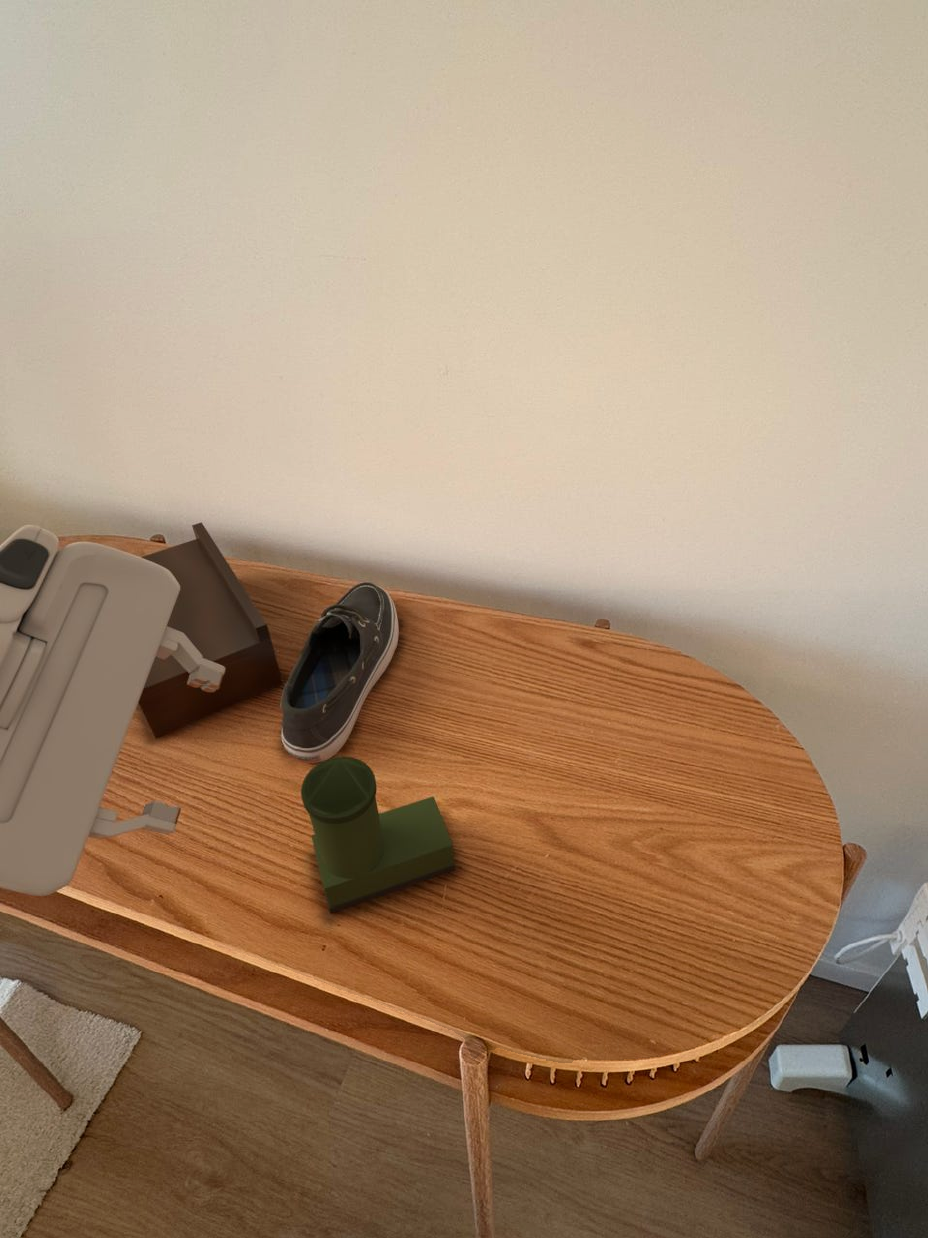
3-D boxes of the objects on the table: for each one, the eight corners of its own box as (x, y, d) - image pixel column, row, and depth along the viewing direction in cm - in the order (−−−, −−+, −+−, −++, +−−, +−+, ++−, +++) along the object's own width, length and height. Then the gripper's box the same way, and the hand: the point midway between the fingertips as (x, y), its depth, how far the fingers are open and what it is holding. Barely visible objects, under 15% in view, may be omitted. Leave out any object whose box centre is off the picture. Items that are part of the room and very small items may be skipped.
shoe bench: (155, 738, 75) (127, 678, 69) (107, 619, 89) (80, 560, 83) (283, 684, 81) (267, 623, 75) (219, 579, 95) (201, 522, 89)
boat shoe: (348, 597, 92) (340, 542, 86) (416, 609, 90) (412, 553, 84) (254, 756, 73) (235, 700, 68) (336, 775, 72) (324, 718, 66)
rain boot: (330, 915, 61) (304, 829, 52) (316, 858, 65) (290, 769, 56) (456, 871, 64) (451, 783, 55) (435, 818, 68) (428, 728, 59)
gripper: (-145, 863, 32) (160, 921, 39) (42, 500, 42) (260, 597, 49) (-147, 872, 37) (127, 922, 44) (22, 542, 47) (224, 625, 54)
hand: (198, 747), depth 47 cm, fingers open, 8 cm apart
